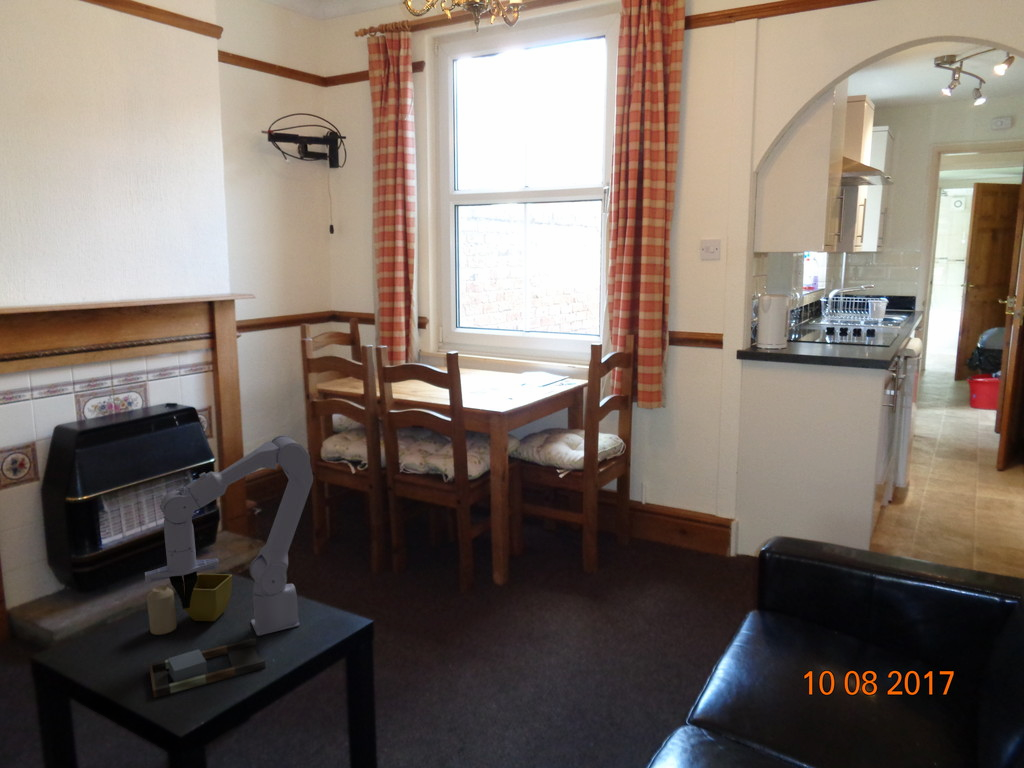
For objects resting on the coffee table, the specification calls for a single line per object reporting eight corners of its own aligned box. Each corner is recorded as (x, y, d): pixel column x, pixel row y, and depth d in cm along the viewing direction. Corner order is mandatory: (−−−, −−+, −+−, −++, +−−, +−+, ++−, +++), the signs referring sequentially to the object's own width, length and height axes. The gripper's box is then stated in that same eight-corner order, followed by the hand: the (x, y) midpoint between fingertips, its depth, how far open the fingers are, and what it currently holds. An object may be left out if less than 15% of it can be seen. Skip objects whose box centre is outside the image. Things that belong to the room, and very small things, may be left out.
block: (200, 664, 155) (198, 649, 155) (207, 677, 151) (206, 661, 150) (169, 674, 152) (168, 658, 151) (176, 687, 147) (174, 671, 147)
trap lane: (255, 644, 163) (254, 637, 163) (265, 667, 153) (264, 661, 153) (149, 671, 153) (149, 664, 153) (153, 697, 143) (153, 690, 143)
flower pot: (201, 607, 181) (198, 572, 179) (235, 608, 180) (232, 573, 178) (182, 625, 172) (178, 588, 170) (217, 626, 171) (214, 590, 170)
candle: (166, 636, 167) (162, 594, 165) (145, 633, 168) (140, 592, 166) (181, 624, 172) (178, 584, 171) (161, 622, 173) (156, 582, 172)
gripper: (213, 534, 165) (218, 591, 168) (141, 547, 158) (147, 607, 160) (218, 545, 159) (223, 604, 162) (144, 559, 152) (150, 620, 154)
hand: (185, 606), depth 161 cm, fingers closed
